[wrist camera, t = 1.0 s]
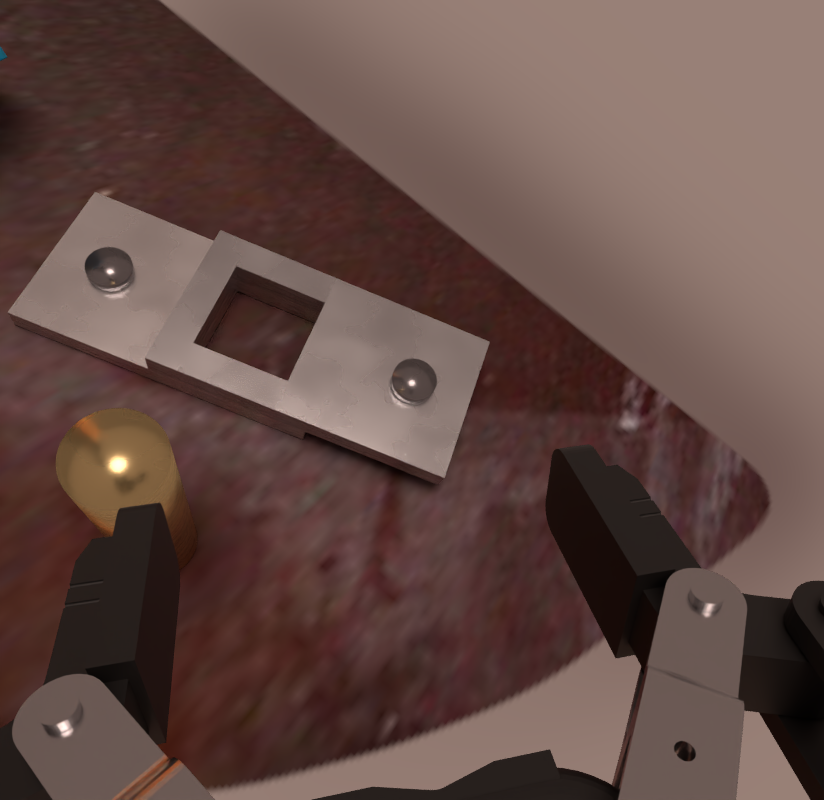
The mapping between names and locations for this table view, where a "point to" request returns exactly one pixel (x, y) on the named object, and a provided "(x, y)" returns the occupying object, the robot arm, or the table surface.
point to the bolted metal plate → (235, 381)
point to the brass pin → (125, 473)
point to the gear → (2, 54)
